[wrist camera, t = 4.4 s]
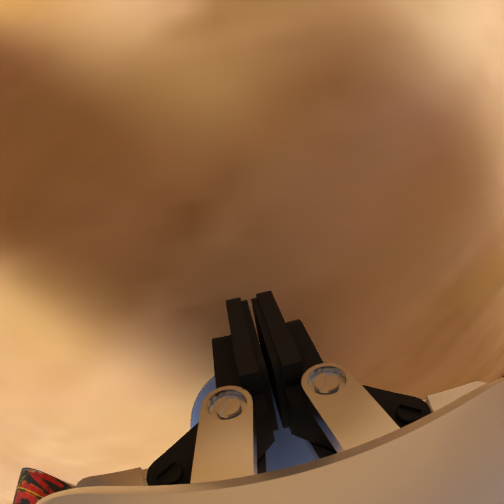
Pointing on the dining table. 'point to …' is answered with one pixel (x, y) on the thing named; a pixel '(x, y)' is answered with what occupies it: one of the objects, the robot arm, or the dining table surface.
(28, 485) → the deodorant
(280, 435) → the ball
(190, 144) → the dining table surface
